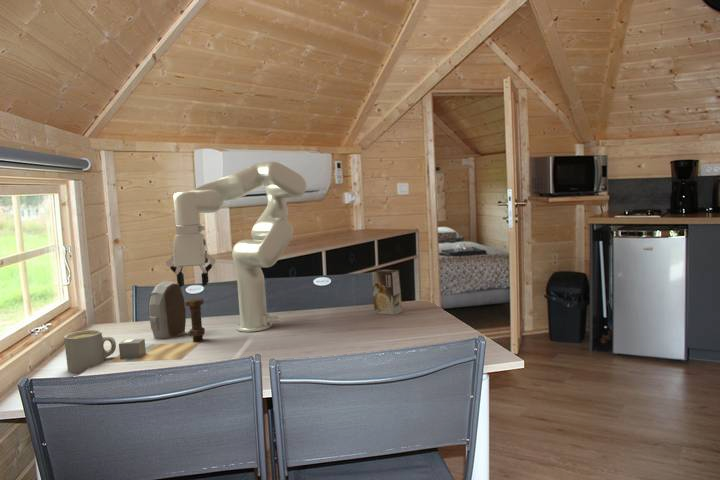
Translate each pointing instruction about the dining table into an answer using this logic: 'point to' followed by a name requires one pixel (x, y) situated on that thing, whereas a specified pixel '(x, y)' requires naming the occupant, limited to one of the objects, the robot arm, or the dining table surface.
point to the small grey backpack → (167, 310)
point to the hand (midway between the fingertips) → (193, 285)
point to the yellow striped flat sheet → (162, 352)
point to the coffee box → (387, 292)
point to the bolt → (196, 319)
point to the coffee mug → (86, 349)
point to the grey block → (132, 348)
